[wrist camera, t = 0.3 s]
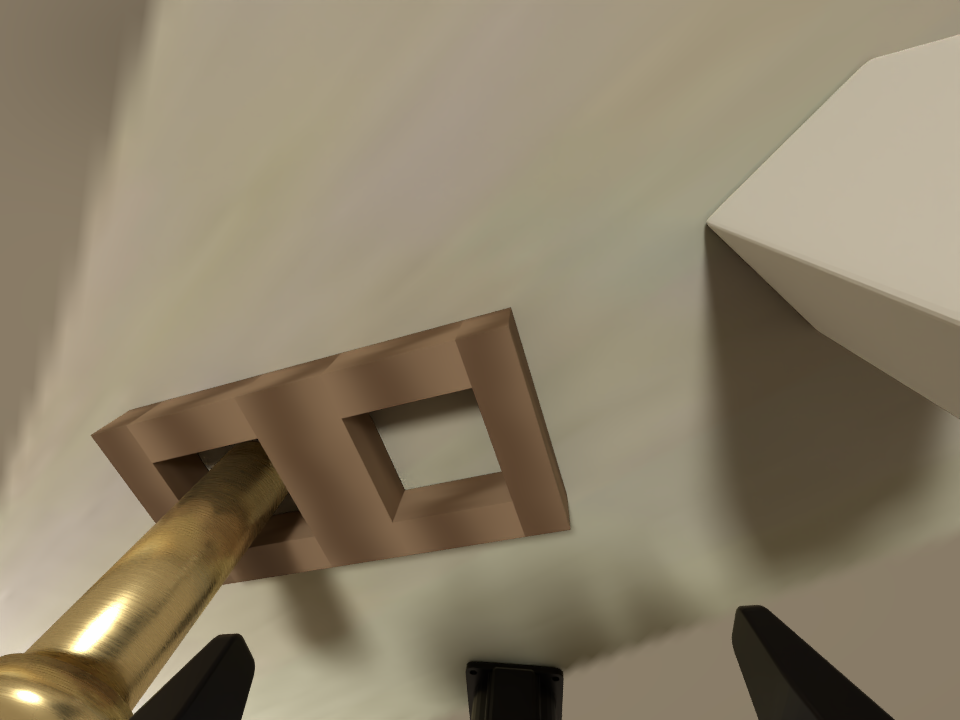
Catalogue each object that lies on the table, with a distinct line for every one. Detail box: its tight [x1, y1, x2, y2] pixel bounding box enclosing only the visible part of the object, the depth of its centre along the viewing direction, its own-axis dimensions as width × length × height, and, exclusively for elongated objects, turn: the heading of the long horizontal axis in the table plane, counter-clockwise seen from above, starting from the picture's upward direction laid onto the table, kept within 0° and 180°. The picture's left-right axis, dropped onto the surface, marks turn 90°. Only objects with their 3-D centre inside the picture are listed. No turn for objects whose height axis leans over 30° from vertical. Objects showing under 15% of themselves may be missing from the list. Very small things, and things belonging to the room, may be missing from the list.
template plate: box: [91, 308, 570, 585], centre depth 24 cm, size 22×11×2 cm, turn 108°
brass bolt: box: [0, 441, 288, 720], centre depth 20 cm, size 5×5×14 cm
